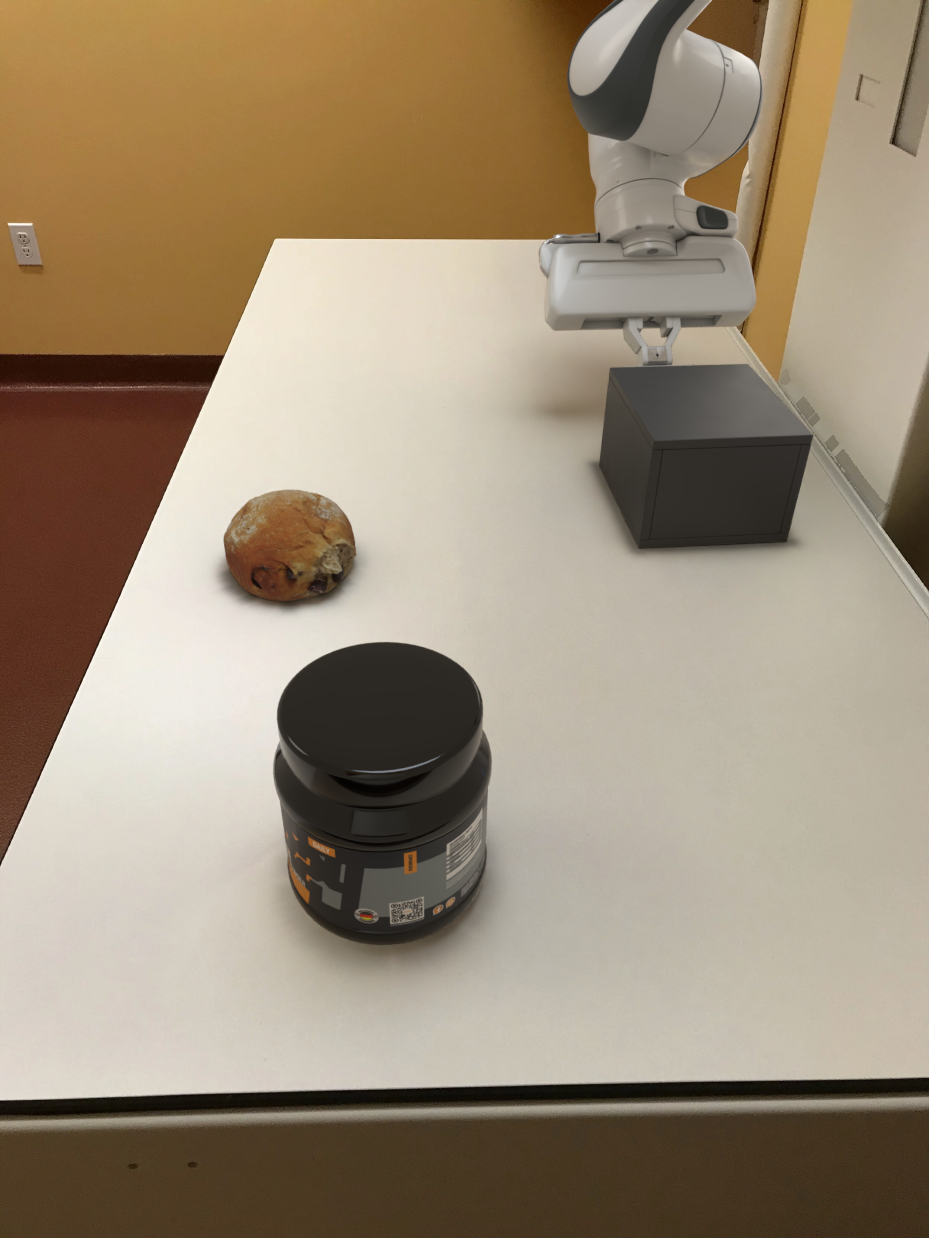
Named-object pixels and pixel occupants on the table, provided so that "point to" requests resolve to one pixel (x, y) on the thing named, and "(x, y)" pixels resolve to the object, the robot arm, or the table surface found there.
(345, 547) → the bread roll
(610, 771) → the table surface
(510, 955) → the table surface
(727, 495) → the dark grey cabinet
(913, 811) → the table surface
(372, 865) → the supplement container
